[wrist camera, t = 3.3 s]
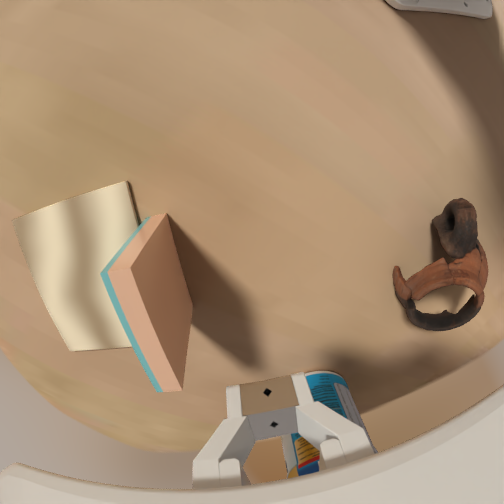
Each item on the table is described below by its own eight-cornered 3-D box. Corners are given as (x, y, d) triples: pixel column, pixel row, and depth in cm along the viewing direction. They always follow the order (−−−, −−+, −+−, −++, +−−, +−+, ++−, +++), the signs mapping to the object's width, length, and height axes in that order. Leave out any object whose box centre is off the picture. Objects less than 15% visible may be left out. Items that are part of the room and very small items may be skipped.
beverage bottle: (360, 376, 29) (429, 528, 10) (315, 419, 31) (355, 558, 13) (302, 358, 27) (364, 555, 8) (257, 406, 29) (282, 574, 11)
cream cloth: (127, 180, 19) (125, 181, 19) (177, 338, 24) (177, 341, 24) (14, 219, 19) (11, 220, 18) (71, 348, 24) (70, 351, 24)
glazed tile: (166, 213, 20) (130, 267, 12) (193, 306, 23) (182, 390, 15) (146, 217, 20) (100, 273, 12) (174, 309, 23) (157, 392, 15)
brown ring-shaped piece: (466, 270, 26) (479, 334, 20) (389, 273, 29) (390, 338, 24) (484, 174, 18) (521, 235, 13) (387, 175, 22) (399, 239, 17)
